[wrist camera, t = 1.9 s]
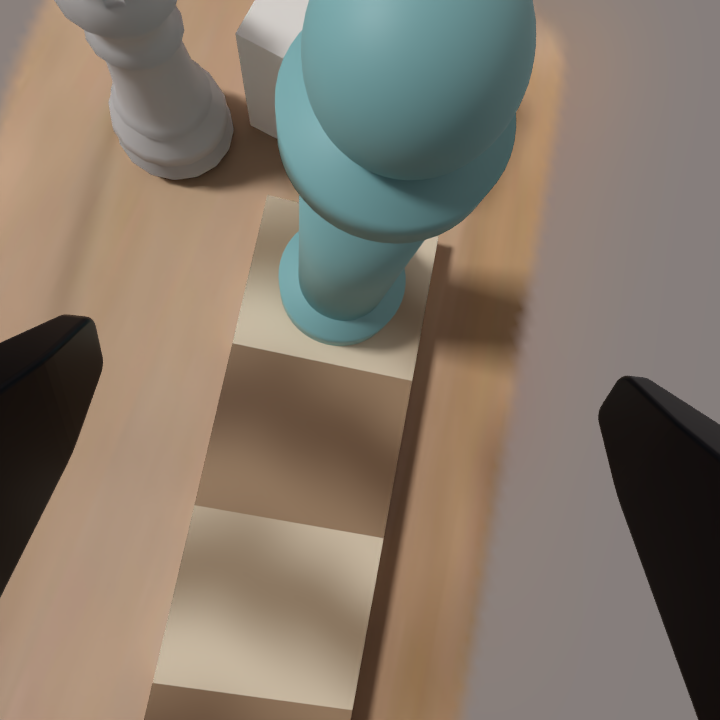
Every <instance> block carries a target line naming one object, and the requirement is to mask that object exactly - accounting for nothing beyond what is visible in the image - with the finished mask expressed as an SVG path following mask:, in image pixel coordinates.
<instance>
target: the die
mask: <svg viewBox="0 0 720 720" xmlns="http://www.w3.org/2000/svg"><path fill="white" fill-rule="evenodd" d="M308 2H309V0H255V1H254V3H253V4H252V6H251V8H250V10H249V11H248V13H247V15H246V16H245V18H244V20H243V22H242V23H241V25H240V27H239V28H238V30H237V32H236V40H237V46H238V52H239V58H240V65H241V71H242V77H243V83H244V89H245V96H246V102H247V108H248V114H249V120H250V125H251V126H253V127H255V128H257V129H259V130H261V131H263V132H265V133H267V134H269V135H270V136H272V137H274V138H276V139H277V127H276V113H275V88H276V82H277V77H278V72H279V69H280V66H281V64H282V61H283V58H284V56H285V54H286V52H287V50H288V49H289V47H290V45H291V44H292V42H293V41H294V39H295V38H296V37H297V35H298V34H299V33H300V32H301V31H302V29H303V23H304V18H305V13H306V9H307V6H308Z"/></svg>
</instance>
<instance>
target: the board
mask: <svg viewBox="0 0 720 720" xmlns="http://www.w3.org/2000/svg"><path fill="white" fill-rule="evenodd" d="M298 231H299V202H295V201H291V200H286V199H282V198H278V197H274V196H270V195H267V199H266V203H265V207H264V211H263V216H262V220H261V224H260V228H259V233H258V237H257V241H256V245H255V250H254V254H253V258H252V262H251V267H250V271H249V275H248V279H247V284H246V288H245V292H244V296H243V301H242V305H241V309H240V313H239V318H238V322H237V326H236V330H235V335H234V339H233V343H232V347H231V352H230V356H229V360H228V364H227V369H226V373H225V377H224V382H223V386H222V390H221V394H220V399H219V403H218V407H217V411H216V416H215V420H214V424H213V428H212V433H211V437H210V441H209V445H208V450H207V454H206V458H205V462H204V467H203V471H202V475H201V479H200V484H199V488H198V492H197V496H196V501H195V505H194V509H193V513H192V518H191V522H190V526H189V530H188V535H187V539H186V543H185V548H184V552H183V556H182V560H181V565H180V569H179V573H178V577H177V582H176V586H175V590H174V594H173V599H172V603H171V607H170V611H169V616H168V620H167V624H166V628H165V633H164V637H163V641H162V645H161V650H160V654H159V658H158V662H157V667H156V671H155V675H154V679H153V684H152V688H151V692H150V696H149V701H148V705H147V709H146V714H145V718H144V720H351V715H352V709H353V704H354V698H355V693H356V687H357V682H358V676H359V671H360V665H361V660H362V654H363V649H364V643H365V638H366V632H367V627H368V621H369V616H370V610H371V605H372V599H373V594H374V588H375V583H376V577H377V572H378V566H379V561H380V555H381V550H382V544H383V539H384V533H385V528H386V522H387V517H388V511H389V506H390V500H391V495H392V489H393V484H394V478H395V473H396V467H397V462H398V456H399V451H400V445H401V440H402V434H403V429H404V423H405V418H406V412H407V407H408V401H409V396H410V390H411V385H412V379H413V374H414V368H415V363H416V357H417V352H418V346H419V341H420V335H421V330H422V324H423V319H424V313H425V308H426V302H427V297H428V291H429V286H430V280H431V275H432V269H433V264H434V258H435V253H436V247H437V242H438V236H435V237H432V238H429V239H426V240H425V241H424V242H423V243H422V245H421V246H420V247H419V249H418V250H417V252H416V253H415V254H414V256H413V257H412V258H411V260H410V261H409V263H408V264H407V265H406V267H405V275H406V285H405V292H404V296H403V299H402V302H401V304H400V306H399V308H398V310H397V312H396V313H395V315H394V316H393V317H392V318H391V320H390V321H389V322H388V323H387V324H386V325H385V326H384V327H383V328H382V329H381V330H380V331H379V332H378V333H377V334H375V335H374V336H372V337H371V338H369V339H367V340H365V341H363V342H360V343H358V344H353V345H348V346H333V345H327V344H323V343H320V342H318V341H315V340H313V339H311V338H310V337H308V336H306V335H305V334H304V333H302V332H301V331H300V330H299V329H298V328H297V327H296V326H295V325H294V324H293V323H292V321H291V320H290V318H289V317H288V315H287V313H286V311H285V309H284V306H283V304H282V300H281V295H280V287H279V265H280V260H281V257H282V254H283V252H284V250H285V248H286V246H287V244H288V243H289V241H290V240H291V239H292V237H293V236H294V235H295V234H296V233H297V232H298Z"/></svg>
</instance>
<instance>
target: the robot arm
mask: <svg viewBox="0 0 720 720" xmlns="http://www.w3.org/2000/svg"><path fill="white" fill-rule="evenodd" d="M102 367H103V357H102V352H101V348H100V343H99V339H98V334H97V330H96V326H95V323H94V321H93V320H92V319H91V318H89V317H85V316H76V315H61V316H58V317H56V318H54V319H52V320H49V321H47V322H45V323H43V324H41V325H38V326H36V327H34V328H32V329H30V330H27V331H25V332H23V333H21V334H19V335H16V336H14V337H12V338H10V339H8V340H5V341H3V342H1V343H0V597H1V595H2V593H3V591H4V589H5V587H6V585H7V583H8V581H9V579H10V577H11V575H12V573H13V571H14V569H15V567H16V565H17V563H18V561H19V559H20V557H21V555H22V553H23V551H24V549H25V547H26V545H27V543H28V541H29V539H30V537H31V535H32V533H33V531H34V529H35V527H36V525H37V523H38V521H39V519H40V517H41V515H42V513H43V511H44V509H45V507H46V505H47V503H48V501H49V499H50V497H51V495H52V493H53V491H54V489H55V487H56V485H57V483H58V481H59V479H60V477H61V475H62V473H63V471H64V469H65V468H66V466H67V463H68V461H69V459H70V457H71V455H72V453H73V450H74V448H75V445H76V442H77V440H78V437H79V434H80V432H81V429H82V426H83V423H84V420H85V417H86V415H87V412H88V409H89V406H90V403H91V400H92V398H93V395H94V392H95V389H96V386H97V383H98V381H99V378H100V375H101V372H102ZM598 420H599V425H600V429H601V433H602V437H603V441H604V445H605V449H606V453H607V457H608V461H609V465H610V469H611V473H612V478H613V482H614V485H615V489H616V492H617V496H618V499H619V502H620V505H621V508H622V511H623V513H624V516H625V519H626V522H627V525H628V527H629V530H630V533H631V535H632V538H633V541H634V544H635V546H636V549H637V552H638V555H639V557H640V560H641V563H642V566H643V568H644V571H645V574H646V577H647V580H648V582H649V585H650V588H651V591H652V593H653V596H654V599H655V602H656V604H657V607H658V610H659V612H660V615H661V618H662V621H663V624H664V626H665V629H666V632H667V634H668V637H669V640H670V643H671V646H672V648H673V651H674V654H675V657H676V660H677V662H678V665H679V668H680V671H681V673H682V676H683V679H684V681H685V684H686V687H687V690H688V693H689V695H690V698H691V701H692V703H693V706H694V709H695V712H696V715H697V717H698V720H720V424H718V423H716V422H715V421H713V420H712V419H710V418H709V417H707V416H706V415H704V414H702V413H701V412H699V411H697V410H696V409H695V408H693V407H692V406H690V405H688V404H687V403H685V402H684V401H682V400H680V399H679V398H677V397H676V396H674V395H673V394H671V393H670V392H668V391H667V390H665V389H663V388H662V387H660V386H659V385H657V384H656V383H654V382H653V381H651V380H649V379H647V378H643V377H634V376H624V377H621V378H620V379H619V380H618V381H617V382H616V384H615V385H614V387H613V388H612V390H611V392H610V393H609V395H608V396H607V398H606V399H605V401H604V402H603V404H602V406H601V407H600V410H599V415H598Z"/></svg>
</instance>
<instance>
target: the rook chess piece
mask: <svg viewBox="0 0 720 720" xmlns="http://www.w3.org/2000/svg"><path fill="white" fill-rule="evenodd" d="M55 2H56V3H57V5H58V6H59V8H60V9H61V11H62V12H63V14H64V15H65V17H66V18H67V19H69V20H70V21H72V22H73V23H75V24H76V25H78V26H79V27H81V28H82V29H84V31H85V37H86V40H87V42H88V43H89V44H90V46H91V47H92V49H93V50H94V52H95V53H96V55H98V56H99V57H101V58H102V59H104V60H105V61H106V62H107V65H108V68H109V71H110V74H111V77H112V80H113V84H112V87H111V96H110V99H109V108H110V114H111V120H112V125H113V130H114V132H115V133H116V135H117V136H118V138H119V142H120V145H121V146H122V147H123V149H124V150H125V152H126V153H127V155H128V156H129V158H130V159H131V161H132V162H133V163H135V164H136V165H138V166H139V167H141V168H142V169H144V170H145V171H147V172H148V173H150V174H151V175H155V176H159V177H164V178H168V179H172V180H177V179H185V178H192V177H198V176H199V175H201V174H203V173H205V172H207V171H208V170H210V169H212V168H214V167H215V166H217V164H218V163H219V162H220V161H221V159H222V158H223V157H224V155H225V154H226V153H227V151H228V150H229V148H230V143H231V139H232V135H233V131H234V128H233V123H232V118H231V113H230V109H229V107H228V106H227V104H226V99H225V95H224V94H223V92H222V91H221V89H220V88H219V86H218V85H217V83H216V82H215V81H214V79H213V78H212V76H211V75H210V74H209V72H207V71H206V70H204V69H203V68H201V67H200V66H199V64H197V63H196V62H195V61H193V60H192V59H191V58H190V56H189V54H188V52H187V50H186V48H185V46H184V44H183V42H182V37H183V33H184V27H183V21H182V16H181V13H180V11H179V10H178V8H177V7H176V2H177V0H55Z"/></svg>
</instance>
